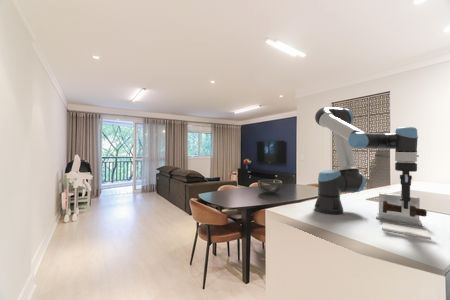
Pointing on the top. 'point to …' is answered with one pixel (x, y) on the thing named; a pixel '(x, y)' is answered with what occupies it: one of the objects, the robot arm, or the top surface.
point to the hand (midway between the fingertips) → (405, 214)
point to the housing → (397, 216)
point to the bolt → (398, 208)
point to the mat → (406, 230)
